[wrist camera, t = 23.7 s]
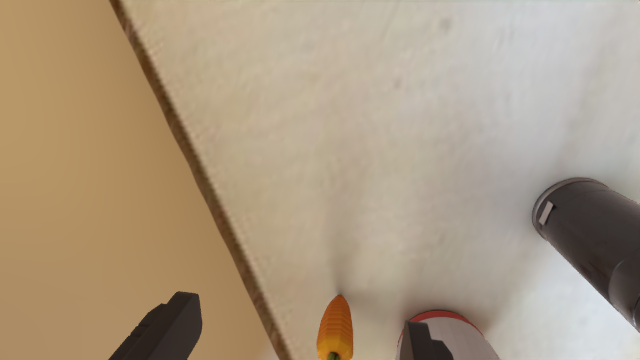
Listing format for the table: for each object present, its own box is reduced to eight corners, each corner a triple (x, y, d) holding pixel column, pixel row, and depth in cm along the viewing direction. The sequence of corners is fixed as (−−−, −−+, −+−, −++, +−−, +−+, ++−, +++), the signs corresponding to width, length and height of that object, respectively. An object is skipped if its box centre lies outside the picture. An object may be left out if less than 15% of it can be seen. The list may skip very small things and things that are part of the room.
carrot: (329, 279, 50) (316, 363, 37) (359, 288, 50) (358, 376, 36) (321, 302, 52) (305, 391, 38) (350, 311, 52) (345, 404, 38)
